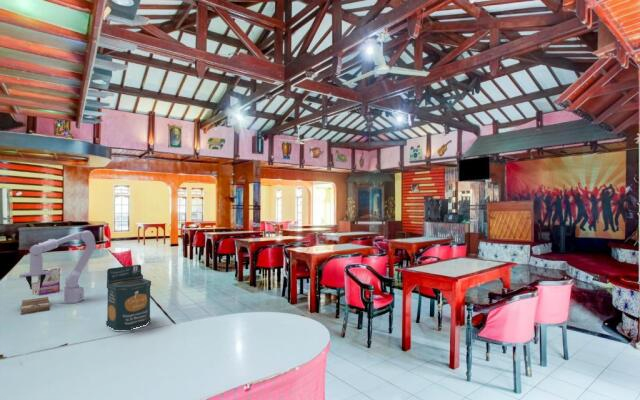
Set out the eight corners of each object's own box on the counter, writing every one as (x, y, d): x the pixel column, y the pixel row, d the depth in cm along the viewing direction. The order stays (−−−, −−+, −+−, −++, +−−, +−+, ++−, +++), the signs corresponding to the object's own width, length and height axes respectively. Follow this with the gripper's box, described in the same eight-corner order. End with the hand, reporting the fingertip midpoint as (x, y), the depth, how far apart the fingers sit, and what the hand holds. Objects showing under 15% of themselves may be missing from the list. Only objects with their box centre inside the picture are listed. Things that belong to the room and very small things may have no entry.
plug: (39, 293, 196) (39, 283, 196) (31, 294, 193) (31, 284, 193) (39, 291, 199) (39, 281, 199) (31, 292, 197) (31, 282, 197)
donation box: (140, 317, 177) (141, 264, 177) (154, 324, 167) (155, 267, 167) (106, 325, 164) (106, 268, 165) (119, 333, 154) (119, 272, 155)
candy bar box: (57, 290, 232) (57, 267, 232) (59, 291, 229) (60, 267, 229) (36, 294, 223) (37, 269, 223) (39, 295, 220) (39, 270, 220)
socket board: (49, 310, 189) (49, 305, 189) (21, 314, 181) (21, 310, 181) (48, 300, 207) (48, 296, 207) (22, 304, 199) (22, 300, 199)
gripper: (51, 263, 204) (51, 285, 204) (19, 265, 195) (19, 289, 195) (52, 264, 199) (51, 287, 198) (19, 267, 189) (18, 291, 189)
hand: (35, 288), depth 196 cm, fingers closed on plug, 4 cm apart
